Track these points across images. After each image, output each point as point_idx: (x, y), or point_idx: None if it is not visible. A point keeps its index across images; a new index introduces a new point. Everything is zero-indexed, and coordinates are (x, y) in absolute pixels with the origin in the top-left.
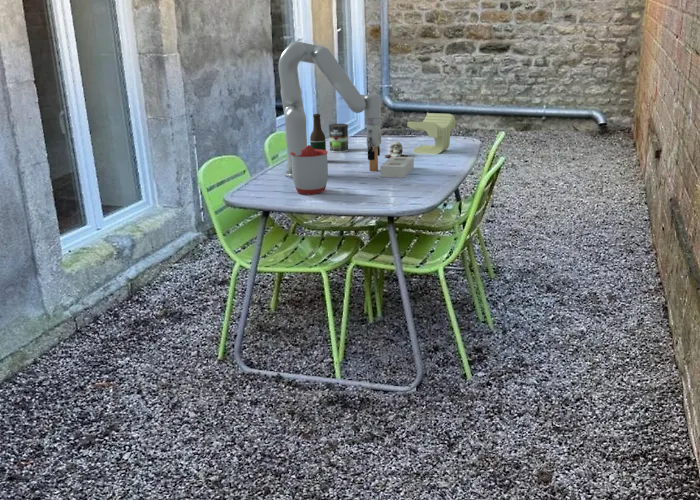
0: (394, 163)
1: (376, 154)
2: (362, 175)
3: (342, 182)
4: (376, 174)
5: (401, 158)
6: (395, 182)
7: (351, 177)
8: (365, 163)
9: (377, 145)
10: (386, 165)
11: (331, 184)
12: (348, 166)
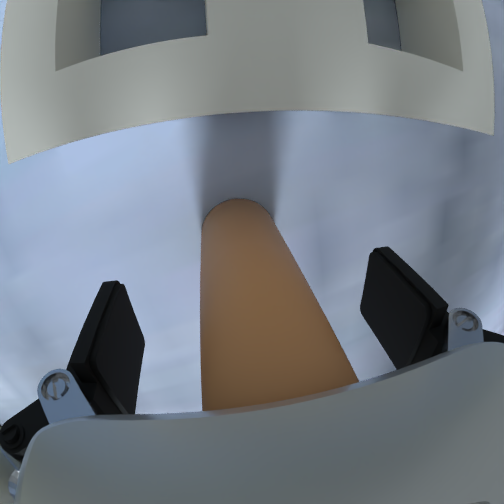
0: (359, 3)
1: (297, 286)
2: (399, 251)
3: (491, 278)
4: (373, 166)
5: (59, 8)
6: (499, 40)
7: (433, 286)
8: (62, 351)
9: (478, 353)
10: (473, 83)
11: (499, 297)
12: (172, 398)
